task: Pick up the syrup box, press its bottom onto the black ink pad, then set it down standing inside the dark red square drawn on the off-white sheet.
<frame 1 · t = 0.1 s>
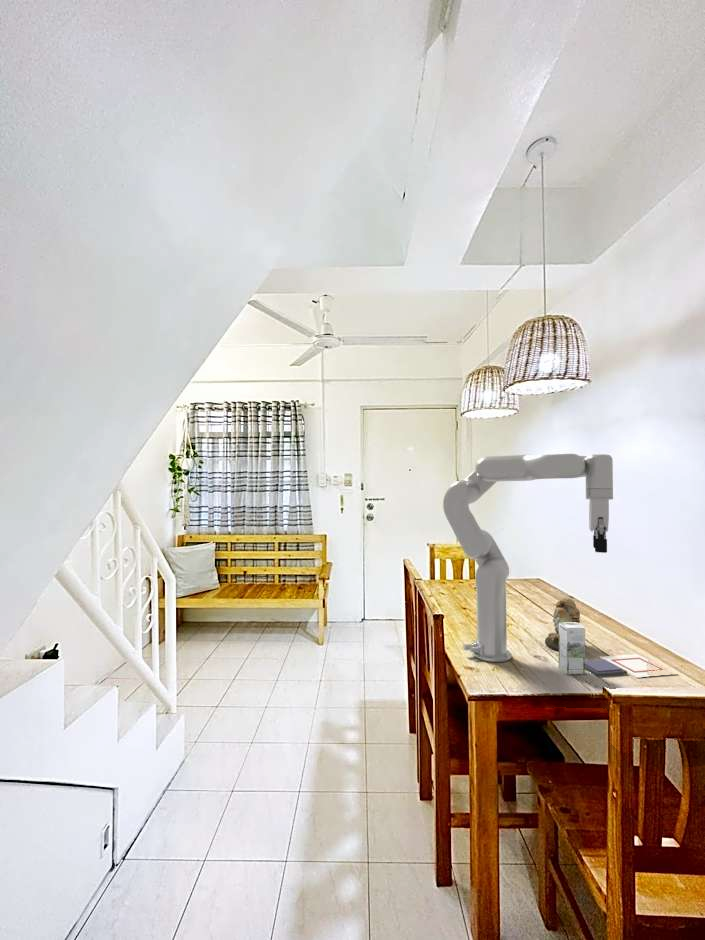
hand: (599, 550, 152), 37 cm above the table, tool pointing down, fingers open, 9 cm apart
marked sheet: (636, 665, 156), on the table
ink pad: (601, 669, 153), on the table
tan lumpy figure: (562, 645, 176), on the table
syrup box: (571, 672, 151), on the table
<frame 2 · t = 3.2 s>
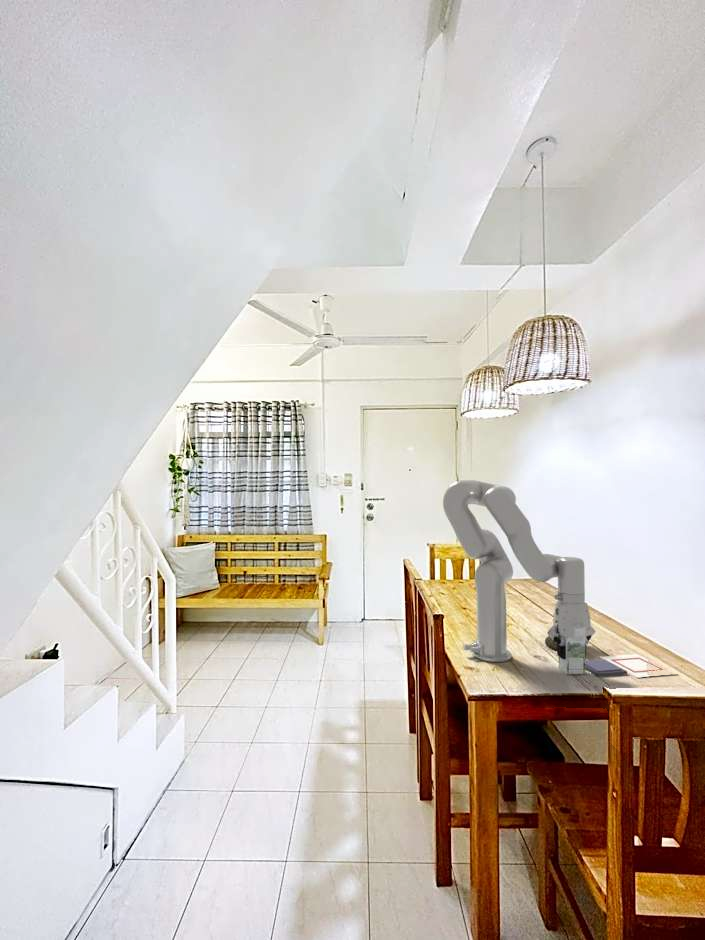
hand: (571, 656, 151), 5 cm above the table, tool pointing down, fingers closed on syrup box, 6 cm apart
syrup box: (571, 672, 151), on the table, touching gripper
everything else where it was.
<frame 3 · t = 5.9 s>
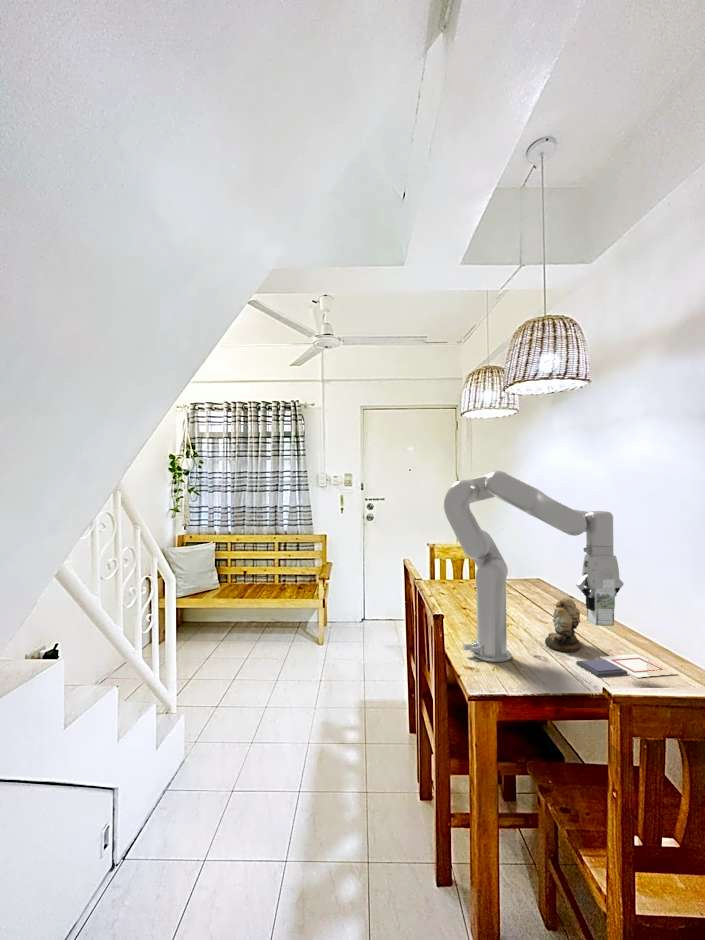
hand: (600, 608, 153), 19 cm above the table, tool pointing down, fingers closed on syrup box, 6 cm apart
syrup box: (600, 624, 153), point 14 cm above the table, touching gripper
everything else where it was.
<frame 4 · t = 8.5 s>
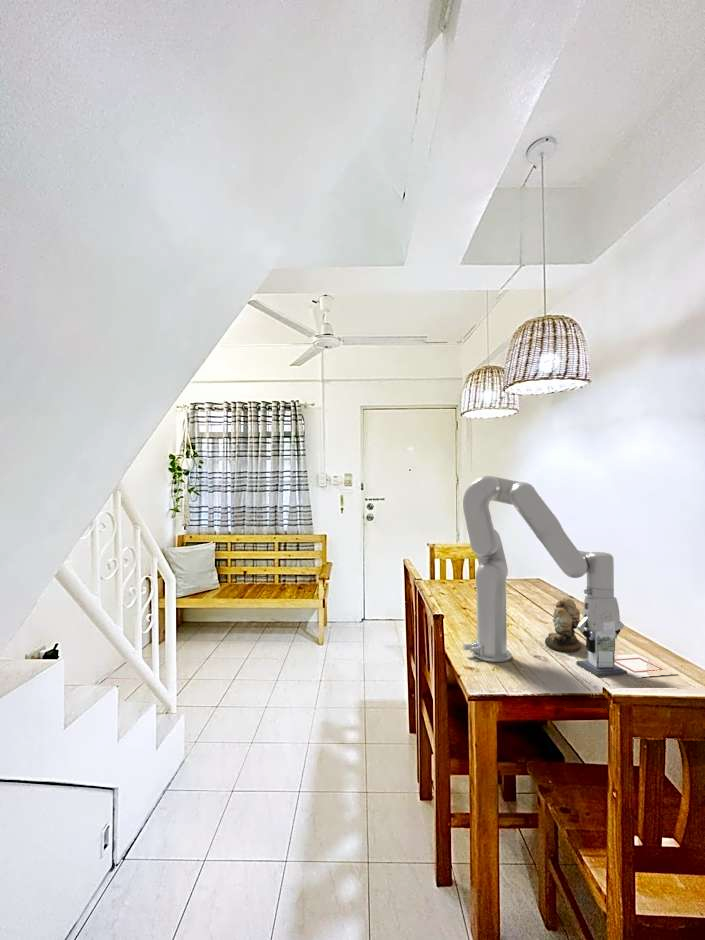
hand: (600, 650, 153), 6 cm above the table, tool pointing down, fingers closed on syrup box, 6 cm apart
syrup box: (600, 665, 153), point 1 cm above the table, touching gripper, ink pad
everything else where it was.
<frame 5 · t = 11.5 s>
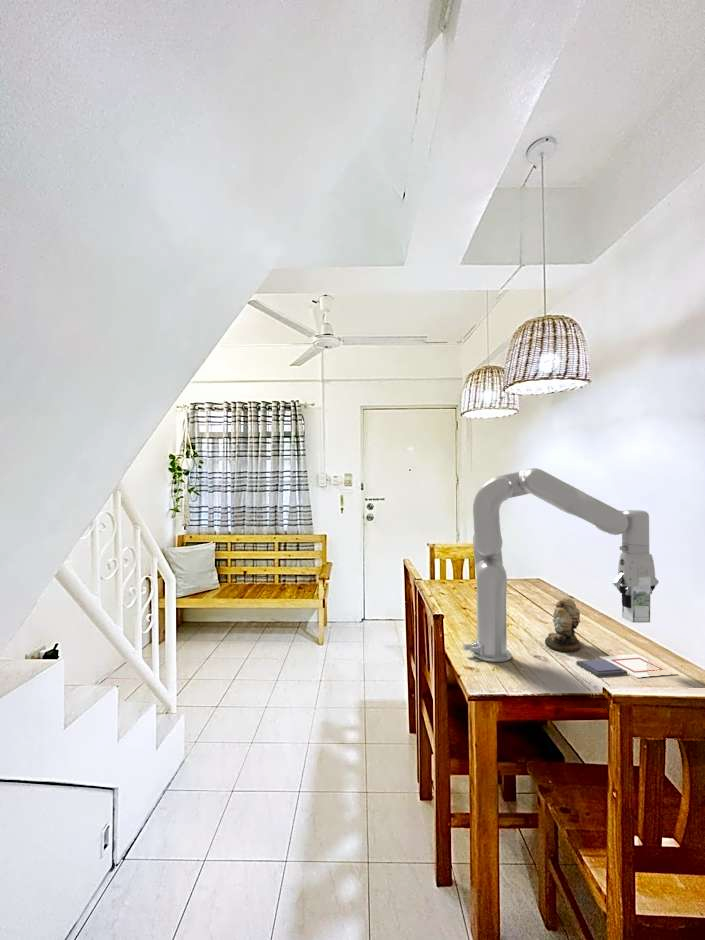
hand: (636, 605, 156), 19 cm above the table, tool pointing down, fingers closed on syrup box, 6 cm apart
syrup box: (636, 621, 156), point 14 cm above the table, touching gripper
everything else where it was.
when the fingers open (6 cm above the table, at t = 14.1 s): syrup box drops 1 cm, resting on marked sheet.
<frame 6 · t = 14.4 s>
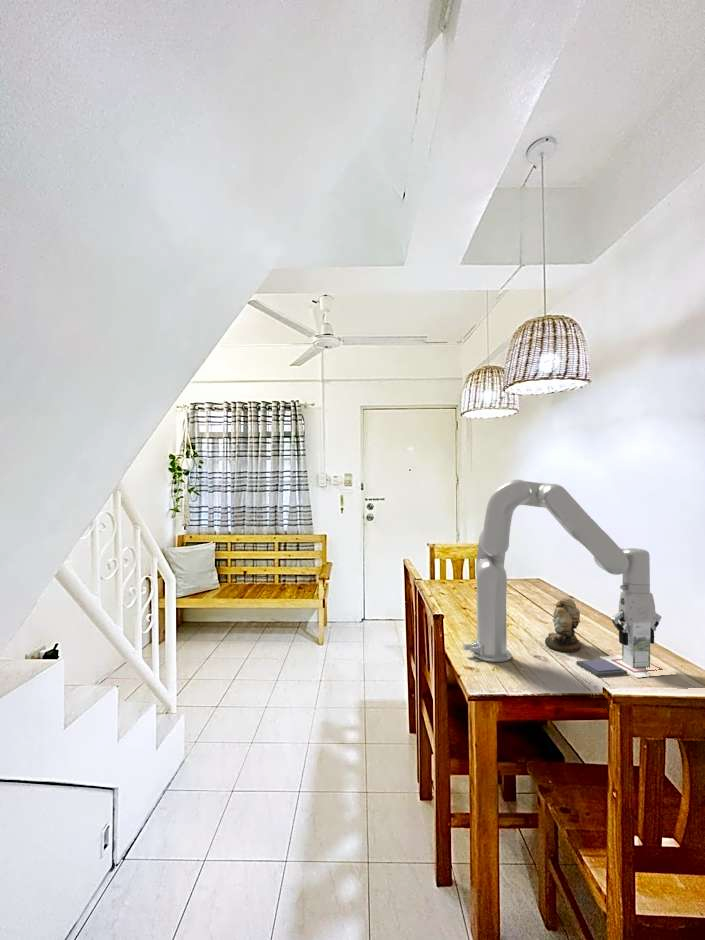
hand: (636, 643, 156), 7 cm above the table, tool pointing down, fingers open, 8 cm apart
syrup box: (636, 665, 156), resting on marked sheet
everything else where it was.
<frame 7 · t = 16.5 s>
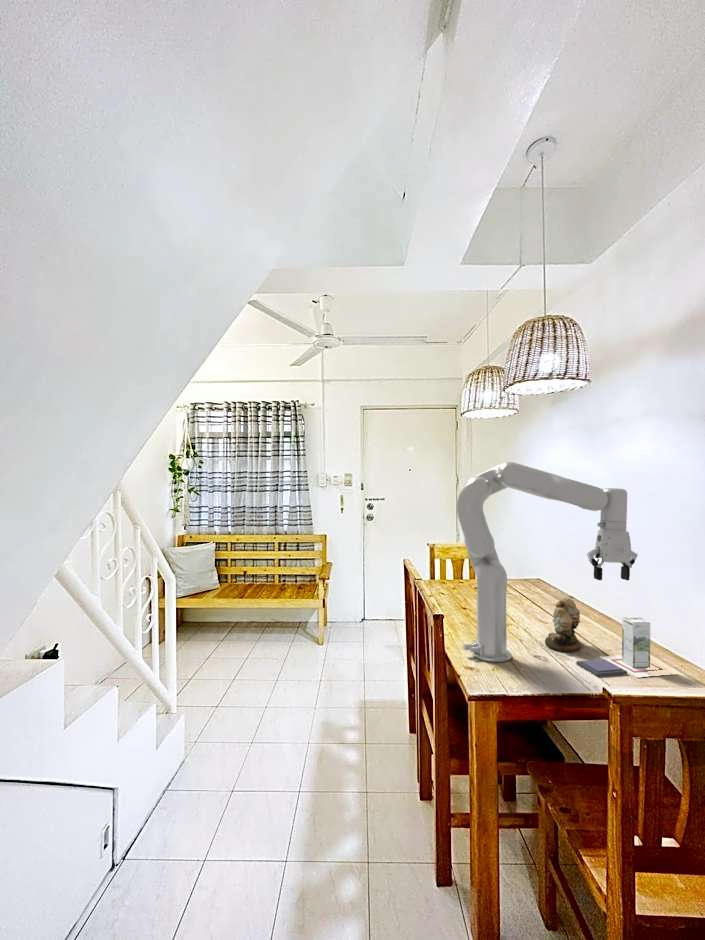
hand: (611, 579, 159), 27 cm above the table, tool pointing down, fingers open, 9 cm apart
nothing on the table moved.
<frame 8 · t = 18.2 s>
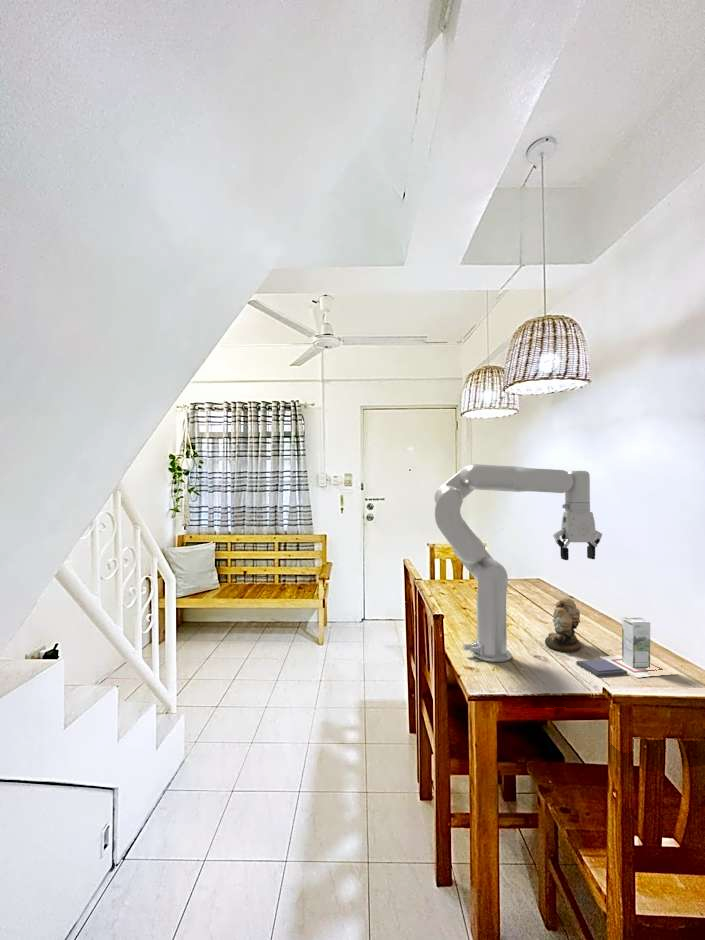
hand: (577, 559, 164), 32 cm above the table, tool pointing down, fingers open, 9 cm apart
nothing on the table moved.
at the end: syrup box 0.2 cm off-centre on the marked sheet, point 0.1 cm above the marked sheet's base; syrup box tilted 0°; the gripper is holding nothing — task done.
